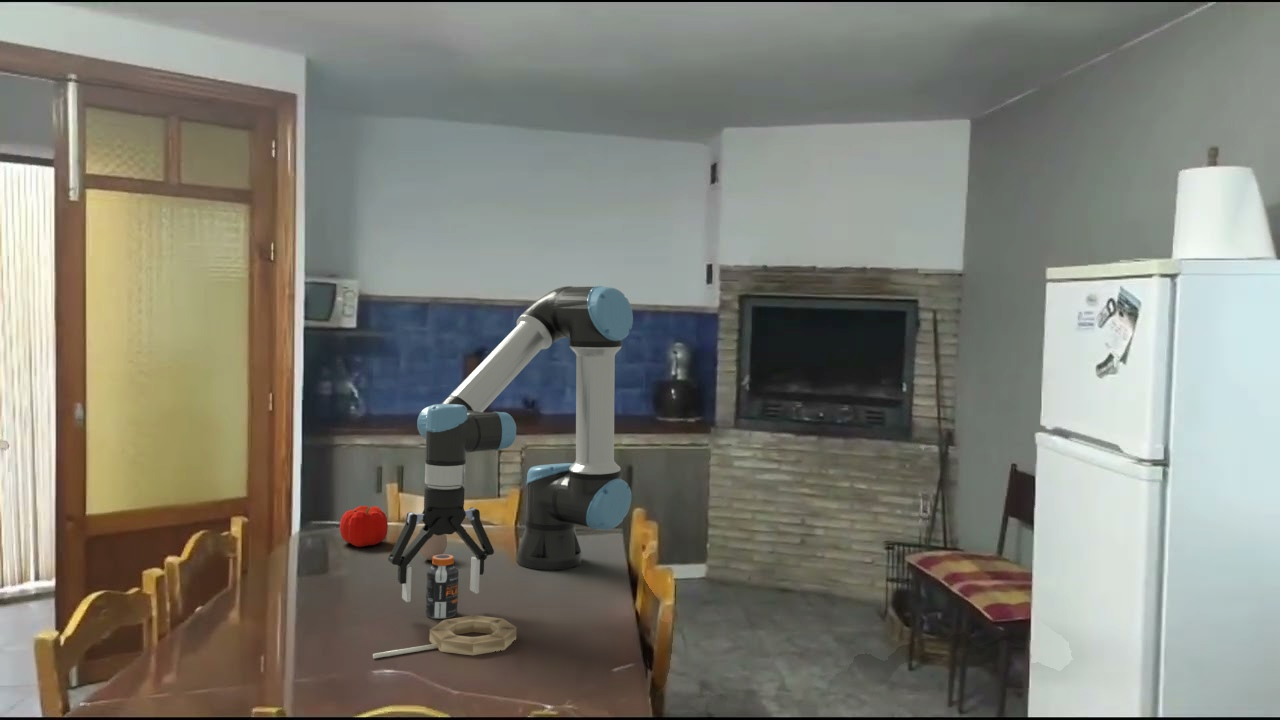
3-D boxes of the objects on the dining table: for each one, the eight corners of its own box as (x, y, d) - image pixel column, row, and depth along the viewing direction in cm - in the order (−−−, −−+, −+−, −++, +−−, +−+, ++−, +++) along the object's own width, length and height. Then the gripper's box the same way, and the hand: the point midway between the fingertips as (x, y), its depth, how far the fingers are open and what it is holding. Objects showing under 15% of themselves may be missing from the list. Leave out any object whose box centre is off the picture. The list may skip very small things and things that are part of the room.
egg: (451, 561, 218) (452, 522, 218) (423, 565, 215) (424, 525, 214) (440, 555, 224) (440, 517, 223) (413, 558, 220) (414, 519, 220)
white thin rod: (436, 647, 162) (436, 642, 162) (438, 648, 161) (438, 644, 161) (372, 657, 156) (372, 653, 156) (374, 659, 155) (374, 654, 155)
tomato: (350, 538, 238) (351, 502, 237) (395, 541, 236) (396, 505, 236) (330, 548, 227) (331, 511, 227) (378, 551, 225) (378, 514, 225)
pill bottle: (449, 620, 176) (451, 561, 176) (420, 617, 177) (421, 558, 177) (462, 611, 182) (463, 553, 182) (433, 608, 183) (434, 551, 183)
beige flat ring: (494, 622, 176) (494, 612, 176) (526, 646, 164) (526, 635, 164) (421, 634, 168) (421, 623, 168) (449, 659, 157) (449, 647, 156)
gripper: (497, 479, 188) (493, 583, 189) (373, 485, 175) (370, 598, 176) (512, 485, 182) (509, 593, 183) (385, 492, 169) (382, 609, 170)
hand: (441, 595), depth 179 cm, fingers open, 13 cm apart
